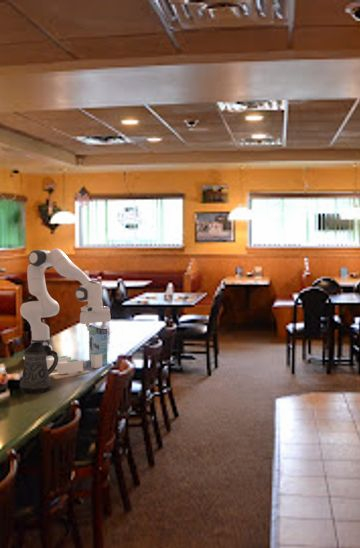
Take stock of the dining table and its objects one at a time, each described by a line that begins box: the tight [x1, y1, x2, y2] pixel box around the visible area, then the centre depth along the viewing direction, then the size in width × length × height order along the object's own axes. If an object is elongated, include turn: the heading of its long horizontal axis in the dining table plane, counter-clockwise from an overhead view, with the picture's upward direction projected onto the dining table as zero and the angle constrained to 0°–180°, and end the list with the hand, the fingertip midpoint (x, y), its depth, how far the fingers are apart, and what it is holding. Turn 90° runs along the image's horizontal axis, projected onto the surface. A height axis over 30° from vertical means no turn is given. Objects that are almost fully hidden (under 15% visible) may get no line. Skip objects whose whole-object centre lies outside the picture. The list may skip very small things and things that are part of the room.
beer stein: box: [19, 343, 59, 395], centre depth 335 cm, size 16×19×25 cm
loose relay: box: [83, 360, 88, 368], centre depth 389 cm, size 4×6×3 cm, turn 136°
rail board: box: [46, 355, 90, 380], centre depth 372 cm, size 20×22×8 cm
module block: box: [90, 353, 103, 369], centre depth 388 cm, size 5×5×8 cm
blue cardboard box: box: [88, 324, 108, 366], centre depth 401 cm, size 20×5×23 cm, turn 29°
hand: (95, 329), depth 386 cm, fingers open, 8 cm apart
